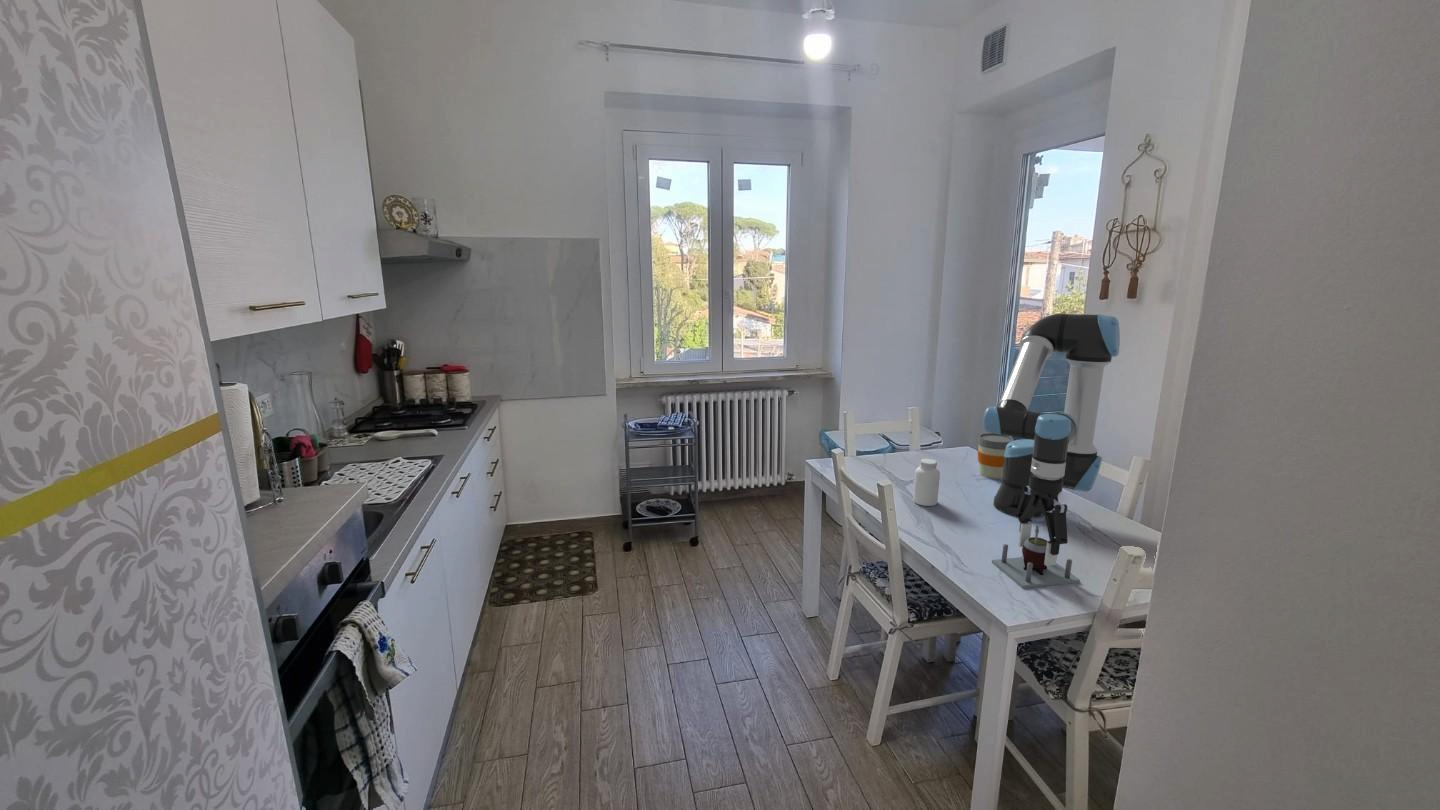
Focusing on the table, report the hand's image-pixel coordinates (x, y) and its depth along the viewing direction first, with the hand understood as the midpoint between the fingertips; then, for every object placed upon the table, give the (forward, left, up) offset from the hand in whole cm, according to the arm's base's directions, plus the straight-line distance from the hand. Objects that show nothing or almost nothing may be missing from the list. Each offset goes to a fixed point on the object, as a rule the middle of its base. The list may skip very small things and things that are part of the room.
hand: (1036, 554), depth 151 cm
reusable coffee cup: (-32, -68, -5) cm, 75 cm away
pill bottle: (+6, -48, -5) cm, 49 cm away
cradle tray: (0, 0, -5) cm, 5 cm away
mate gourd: (0, 0, -4) cm, 4 cm away
